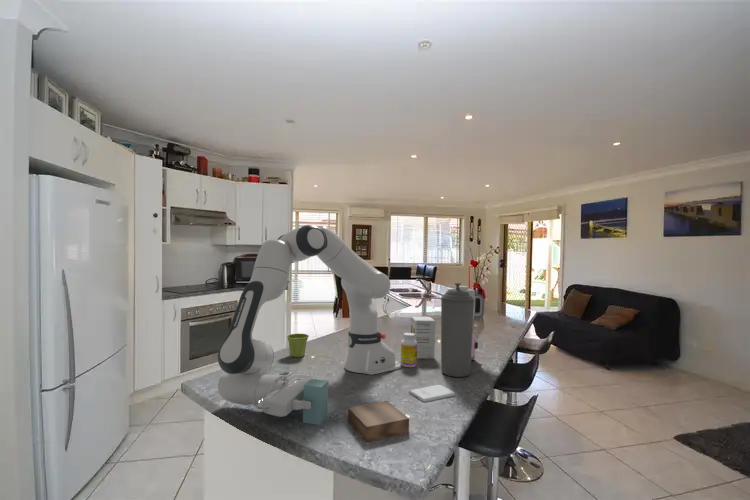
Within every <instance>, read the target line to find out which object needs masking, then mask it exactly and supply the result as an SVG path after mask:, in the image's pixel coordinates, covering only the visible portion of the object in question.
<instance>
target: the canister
mask: <svg viewBox="0 0 750 500" xmlns="http://www.w3.org/2000/svg"><path fill="white" fill-rule="evenodd" d="M454 285H455V288H456V289H452V288H449V289H450V290H448V289H447V291H446V292H445V293H444V294H443V295H442V296H441V298H440V301H441V304H440V305H441V308H440V311H441V313H440V314H441V316H440V317H441V320H440V321H441V322H440V323H441V325H440V327H441V328H440V338H441V339H440V340H441V342H440V344H441V345H440V346H441V349H440V353H441V354H440V356H441V361H440V362H441V364H440V366H441V368H440V371H441V372H442V373H443V374H444V375H446V376H450V377H455V378H465V377H468V376H469V375H470V373H471V365H472V364H471V363H472V360H471V348H472V329H474V327H473V325H474V322H473V308H474V299H473V298H472V296H471V295H470V294H469V293H468V292H467V291H466V290H461V289H460V288H459V286H462V283H460V282H454Z"/></svg>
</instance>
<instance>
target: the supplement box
mask: <svg viewBox="0 0 750 500" xmlns="http://www.w3.org/2000/svg"><path fill="white" fill-rule="evenodd" d="M410 333H413V334H415V338H414V340H416V341H417V359H435V349H436V347H435V344H436V320H435V319H433V317H431V316H411V319H410Z"/></svg>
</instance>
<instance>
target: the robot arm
mask: <svg viewBox="0 0 750 500" xmlns="http://www.w3.org/2000/svg"><path fill="white" fill-rule="evenodd" d="M315 256H316V257H317V258H318V259H319V260H320V261H321V262H322V263H323V264H324V265H325V266H326V267H327V268H329V269H330V271H332V272H333V274H335V275H336V276H337V277H339V278H340V279H341V280H340V285H341V288H342V289H343V290H344V293H345V295H346V299H347V304H348V309H349V331H348V334H347V335H348V336H347V346H348V349H347V356H346V360H345V364H344V369H345V370H347V371H349V372H353V373H359V374H365V375H372V376H373V375H377V374H381V373H386V372H390V371H395V370H399V369H401V368H402V365H401V362H399V361H397V360H396V355H395V352H394V350H393V349H391V347H389V346H388V345H387V344H386V343H385V342H383V341H382V339H383V340H385V339H386V337H387V335H386V334H385V333H381V332H379V331H378V323H379V322H378V321H379V318H378V315H379V314H378V311H377V309H376V308H375V306H374V303H373V300H376V299H383V298H385V297H386V296H387V295H388V294H389V292H390V290H391V280H390V278H389V276H388V275H387V274H385V273H383V272H382V271H380V270H378V269H377V268H376V267H374V266H373V265H372V264H370V263H369V262H367V261H366V260H365V259H363V258H362V257H360V256H359V255H358V254H357V253H356V252H355V251H354V250H353V249H352V248H351V247H350V246H349V245H348V244H347V243H346V242H345V241H344V240H343V239H342V238H341V237H340V236H339V235H338V234H337V233H335V232H334V231H333V230H332V229H331V228H328V227H327V226H325V225H318V226H317V225H314V224H313V225H312V224H306V225H303V226H301V227H296V228H294V229H291V230H290V231H289V232H286V233H285V234H282V235H280V236H279V237H277V239H276V238H274V239H272V238H270V239H267V240H265V241H264V242H263V243H262V244H261V247H260V249H259V251H258V254H257V256H256V259H255V263H254V266H253V270H252V274H251V278H250V279H249V282H248V283H247V284H246V286H245V287H244V288H243V290H242V293H241V295H240V298H239V300H238V303H237V306H236V309H235V312H234V315H233V317H232V320H231V323H230V326H229V328H228V332H227V333H226V335H225V336H224V337H223V340H222V341H221V343H220V344H219V348H218V350H217V362H218V365H219V367H220V369H221V370H222V371H223V373H222V374H221V375H220V377H219V379H218V383H217V390H218V394H219V396H220V397H221V398H222V400H225V401H226V402H229V403H231V404H237V405H240V406H241V405H242V406H250V405H251V406H255V408H256V409H257V410H262V412H263V413H265V414H266V415H267V414H268V415H270V416H274V417H281V418H282V417H283V418H284V417H286V416H288V415H289V414H290V413H291V412H293V411H294V410H295V411H298V410H303V409H310V408H311V407H312V403H313V402H312V400H307V399H306V400H305V401H303V397H304V384H306V383H307V382H308V381H309V380H311V379H317V378H316V377H315V376H311V375H307V374H301V373H293V372H292V371H285V372H280V373H273V374H270V371H271V368H272V365H273V362H274V354H275V353H274V349H273V348H272V345H270V344H269V343H268V342H266V341H262V340H259V339H253V331H254V328H255V324H256V323H257V322H256V321H257V318H258V316H259V311H260V309H261V308H262V306H263V305H265V303H267V302H270V301H271V302H272V301H274V300H277V299H278V298H280V297H281V296H282V295H283V294H284V292H285V290H286V288H287V285H288V281H289V275H290V269H291V265H292V264H293V263H297V262H302V261H305V260H307V259H309V258H311V257H312V258H313V257H315Z"/></svg>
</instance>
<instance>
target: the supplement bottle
mask: <svg viewBox="0 0 750 500" xmlns="http://www.w3.org/2000/svg"><path fill="white" fill-rule="evenodd" d="M414 338H415V334H413V333H411V332H404V333H403V339H402V340H401V342H400V365H401V367H405V368H414V367H417V365H418V364H417V363H418V358H417V341H416V340H414Z"/></svg>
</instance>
